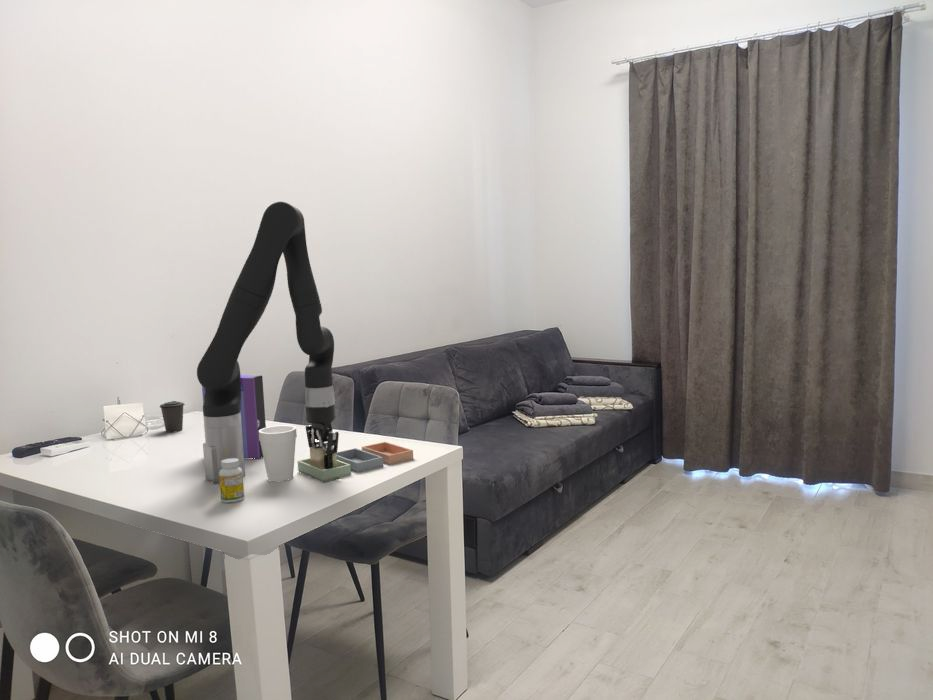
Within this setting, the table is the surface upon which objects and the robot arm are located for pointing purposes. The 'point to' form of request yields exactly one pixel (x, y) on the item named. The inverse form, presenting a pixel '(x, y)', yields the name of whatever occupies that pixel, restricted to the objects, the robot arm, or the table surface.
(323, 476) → the sage tray
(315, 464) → the letter cube
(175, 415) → the coffee cup
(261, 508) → the table surface
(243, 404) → the cereal box
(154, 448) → the table surface
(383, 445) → the terracotta tray
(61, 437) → the table surface
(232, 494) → the supplement bottle
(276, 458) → the foam cup
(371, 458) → the slate tray
